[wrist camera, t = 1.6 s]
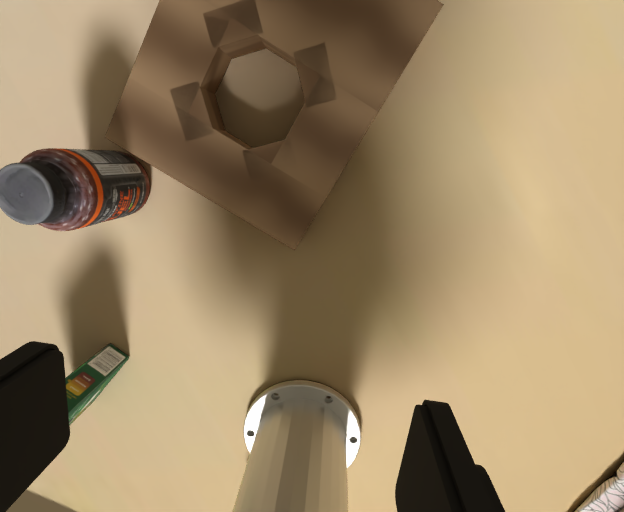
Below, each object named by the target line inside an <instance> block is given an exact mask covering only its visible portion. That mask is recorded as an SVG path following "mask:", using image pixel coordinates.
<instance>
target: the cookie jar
mask: <svg viewBox="0 0 624 512" xmlns="http://www.w3.org/2000/svg"><path fill="white" fill-rule="evenodd" d="M574 512H624V462H623V463H622V465H621V466H620V467H619V469H618V470H617V471H616V473H615V474H614V475H613V476H612V477H610V478H609V479H607V480H606V481H605V482H603V483H602V484H601V485H600V486H599V487H598V488H597V489H596V490H595V491H594V492H593V493H592V494H591V495H590V496H589V497H588V498H587V499H586V500H585V501H584V502H583V503H582V504H581V505H580V506H579V507H578V508H577V509H576V510H575V511H574Z"/></svg>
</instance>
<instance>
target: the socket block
mask: <svg viewBox="0 0 624 512" xmlns="http://www.w3.org/2000/svg"><path fill="white" fill-rule="evenodd" d="M443 5H444V4H442V3H441V2H439V1H438V0H160V1H159V3H158V6H157V8H156V11H155V13H154V16H153V18H152V21H151V23H150V26H149V28H148V31H147V33H146V36H145V38H144V41H143V43H142V46H141V48H140V51H139V53H138V56H137V58H136V61H135V63H134V66H133V68H132V71H131V73H130V76H129V78H128V80H127V83H126V85H125V88H124V90H123V93H122V95H121V98H120V100H119V103H118V105H117V108H116V110H115V113H114V115H113V118H112V120H111V123H110V125H109V128H108V130H107V133H106V135H105V138H107V139H108V140H110V141H112V142H113V143H115V144H117V145H118V146H120V147H122V148H123V149H125V150H127V151H128V152H130V153H132V154H134V155H135V156H137V157H139V158H140V159H142V160H144V161H145V162H147V163H149V164H150V165H152V166H154V167H155V168H157V169H159V170H160V171H162V172H164V173H165V174H167V175H169V176H170V177H172V178H174V179H176V180H177V181H179V182H181V183H182V184H184V185H186V186H187V187H189V188H191V189H192V190H194V191H196V192H197V193H199V194H201V195H202V196H204V197H206V198H207V199H209V200H211V201H212V202H214V203H216V204H218V205H219V206H221V207H223V208H224V209H226V210H228V211H229V212H231V213H233V214H234V215H236V216H238V217H239V218H241V219H243V220H244V221H246V222H248V223H249V224H251V225H253V226H254V227H256V228H258V229H260V230H261V231H263V232H265V233H266V234H268V235H270V236H271V237H273V238H275V239H276V240H278V241H280V242H281V243H283V244H285V245H286V246H288V247H290V248H291V249H293V250H295V249H296V247H297V245H298V244H299V242H300V240H301V239H302V237H303V235H304V234H305V232H306V230H307V229H308V227H309V226H310V224H311V222H312V221H313V219H314V217H315V216H316V214H317V212H318V211H319V209H320V207H321V206H322V204H323V202H324V201H325V199H326V197H327V196H328V194H329V193H330V191H331V189H332V188H333V186H334V184H335V183H336V181H337V179H338V178H339V176H340V174H341V173H342V171H343V169H344V168H345V166H346V165H347V163H348V161H349V160H350V158H351V156H352V155H353V153H354V151H355V150H356V148H357V146H358V145H359V143H360V141H361V140H362V138H363V136H364V135H365V133H366V132H367V130H368V128H369V127H370V125H371V123H372V122H373V120H374V118H375V117H376V115H377V113H378V112H379V110H380V108H381V107H382V105H383V103H384V102H385V100H386V99H387V97H388V95H389V94H390V92H391V90H392V89H393V87H394V85H395V84H396V82H397V80H398V79H399V77H400V75H401V74H402V72H403V70H404V69H405V67H406V66H407V64H408V62H409V61H410V59H411V57H412V56H413V54H414V52H415V51H416V49H417V47H418V46H419V44H420V42H421V41H422V39H423V38H424V36H425V34H426V33H427V31H428V29H429V28H430V26H431V24H432V23H433V21H434V19H435V18H436V16H437V14H438V13H439V11H440V9H441V8H442V6H443ZM265 48H267V49H269V50H270V51H272V52H274V53H275V54H277V55H278V56H280V57H281V58H283V59H284V60H286V61H288V62H289V63H291V64H292V65H294V66H295V67H297V70H298V74H299V78H300V82H301V86H302V91H303V95H304V99H305V103H304V105H303V107H302V108H301V110H300V112H299V114H298V116H297V118H296V119H295V121H294V123H293V125H292V127H291V129H290V130H289V132H288V134H287V136H286V138H285V139H284V140H281V141H277V142H273V143H270V144H266V145H262V146H259V147H255V148H252V147H251V146H249V145H247V144H246V143H244V142H243V141H241V140H239V139H238V138H236V137H234V136H233V135H231V134H230V133H228V132H226V131H225V128H224V124H223V121H222V117H221V114H220V111H219V107H218V104H217V100H216V97H215V93H216V91H217V88H218V86H219V84H220V82H221V80H222V78H223V76H224V74H225V72H226V69H227V67H228V65H229V63H230V61H231V59H233V58H236V57H239V56H242V55H246V54H249V53H252V52H255V51H259V50H262V49H265Z"/></svg>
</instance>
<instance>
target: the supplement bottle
mask: <svg viewBox="0 0 624 512" xmlns="http://www.w3.org/2000/svg"><path fill="white" fill-rule="evenodd" d="M149 189H150V185H149V179H148V176H147V173H146V171H145V170H144V168H143V166H142V165H141V164H140V163H139V162H138V161H137V160H136V159H135V158H133V157H132V156H130V155H128V154H126V153H123V152H117V151H105V150H80V149H41V150H36V151H34V152H32V153H30V154H28V155H27V156H25V157H24V158H23V159H22V160H21V161H20V163H13V164H9V165H7V166H5V167H3V168H2V169H1V170H0V208H1V209H2V210H3V212H4V213H5V214H6V215H7V216H9V217H10V218H11V219H13V220H15V221H16V222H19V223H22V224H26V225H34V224H39V225H41V226H43V227H45V228H48V229H51V230H56V231H70V230H75V229H79V228H83V227H87V226H90V225H94V224H98V223H101V222H105V221H109V220H113V219H117V218H120V217H124V216H127V215H130V214H133V213H135V212H137V211H138V210H139V209H141V208H142V207H143V206H144V204H145V203H146V201H147V199H148V196H149Z"/></svg>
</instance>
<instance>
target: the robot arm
mask: <svg viewBox="0 0 624 512" xmlns="http://www.w3.org/2000/svg"><path fill="white" fill-rule="evenodd" d="M69 436H70V427H69V415H68V404H67V392H66V380H65V369H64V357H63V354H62V352H60V351H59V349H58V347H57V346H56V345H54V344H48V343H41V342H35V341H33V342H29V343H26V344H25V345H23V346H21V347H20V348H18V349H17V350H15V351H13V352H12V353H10V354H8V355H7V356H5V357H4V358H2V359H0V512H6V511H7V509H8V508H9V507H10V506H11V505H12V504H13V503H14V502H15V501H16V500H17V499H18V498H19V496H20V495H21V494H22V493H23V492H24V491H25V490H26V489H27V488H28V487H29V486H30V485H31V483H32V482H33V481H34V480H35V479H36V478H37V477H38V476H39V475H40V474H41V473H42V472H43V470H44V469H45V468H46V467H47V466H48V465H49V464H50V463H51V462H52V461H53V460H54V459H55V457H56V456H57V455H58V454H59V453H60V452H61V451H62V450H63V449H64V447H65V446H66V444H67V442H68V440H69ZM244 440H245V443H246V446H247V449H248V450H249V452H250V455H249V459H248V462H247V465H246V469H245V472H244V475H243V479H242V482H241V485H240V489H239V492H238V495H237V499H236V502H235V505H234V509H233V512H348V488H347V468H348V467H349V466H350V465H351V464H352V462H353V461H354V459H355V458H356V456H357V453H358V451H359V448H360V442H361V430H360V424H359V419H358V417H357V414H356V412H355V410H354V408H353V407H352V406H351V404H350V403H349V402H348V400H346V399H345V398H344V397H343V396H342V395H341V394H340V393H338V392H337V391H335V390H334V389H332V388H330V387H328V386H325V385H323V384H321V383H317V382H312V381H306V380H293V381H285V382H282V383H278V384H275V385H273V386H271V387H269V388H267V389H266V390H264V391H263V392H262V393H261V394H259V395H258V396H257V398H256V399H255V400H254V401H253V402H252V404H251V406H250V408H249V410H248V412H247V415H246V418H245V422H244ZM395 498H396V506H397V512H505V510H504V508H503V506H502V504H501V502H500V499H499V497H498V495H497V493H496V491H495V488H494V486H493V484H492V482H491V480H490V478H489V475H488V474H487V472H486V470H485V469H484V468H483V467H482V466H481V465H475V463H474V461H473V459H472V456H471V454H470V452H469V449H468V447H467V445H466V442H465V440H464V438H463V435H462V433H461V431H460V428H459V426H458V424H457V422H456V419H455V417H454V415H453V412H452V410H451V408H450V406H449V404H447V403H443V402H437V401H430V400H424V402H423V404H422V405H416V406H415V409H414V413H413V417H412V421H411V425H410V429H409V433H408V438H407V442H406V446H405V450H404V454H403V458H402V462H401V466H400V471H399V475H398V479H397V483H396V490H395Z"/></svg>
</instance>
